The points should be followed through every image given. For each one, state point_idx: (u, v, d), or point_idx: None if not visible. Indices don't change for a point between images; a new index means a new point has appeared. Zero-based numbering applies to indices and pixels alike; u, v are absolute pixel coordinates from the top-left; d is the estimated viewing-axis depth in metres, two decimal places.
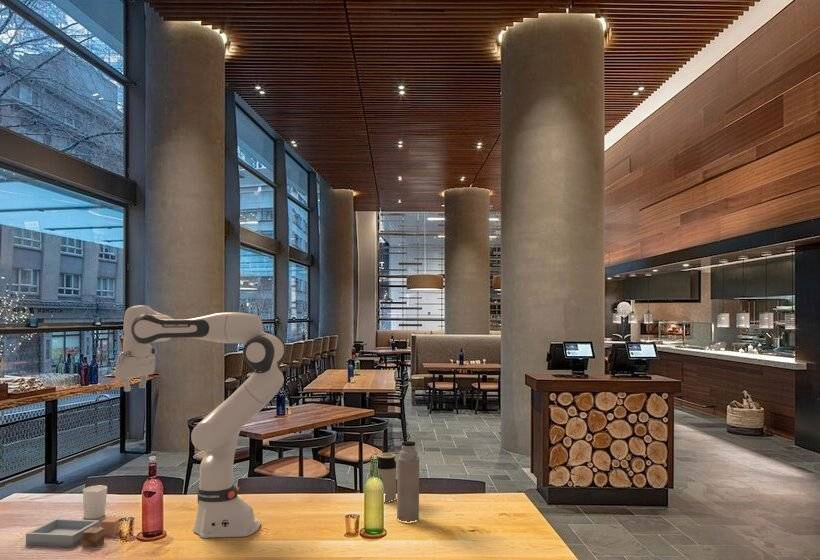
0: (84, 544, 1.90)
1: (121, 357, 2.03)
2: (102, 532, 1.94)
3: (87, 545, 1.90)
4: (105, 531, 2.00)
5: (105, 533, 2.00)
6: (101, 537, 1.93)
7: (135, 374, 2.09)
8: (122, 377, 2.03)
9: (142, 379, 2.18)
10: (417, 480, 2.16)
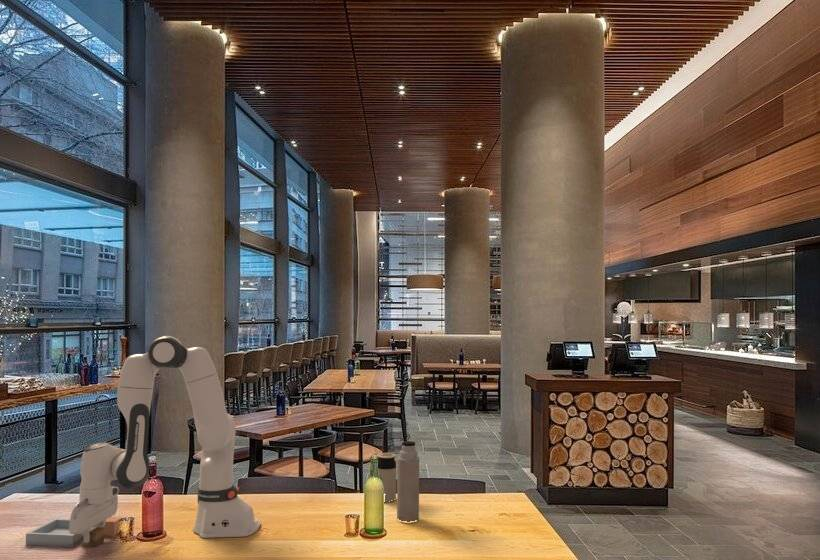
0: (84, 544, 1.90)
1: (76, 510, 1.83)
2: (102, 532, 1.94)
3: (87, 545, 1.90)
4: (105, 531, 2.00)
5: (105, 533, 2.00)
6: (101, 537, 1.93)
7: (93, 524, 1.90)
8: (77, 532, 1.83)
9: (99, 524, 1.96)
10: (417, 480, 2.16)
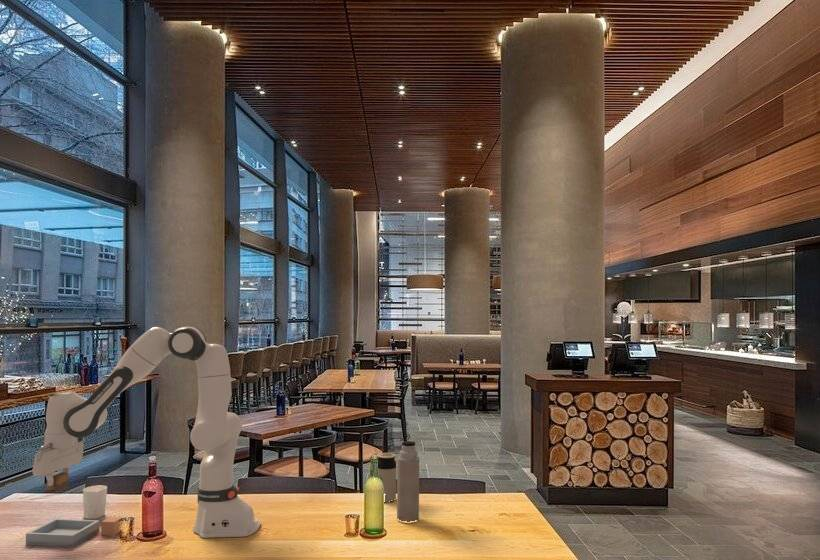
0: (48, 487, 1.96)
1: (40, 452, 1.89)
2: (66, 476, 1.99)
3: (51, 488, 1.96)
4: (105, 531, 2.00)
5: (105, 533, 2.00)
6: (65, 481, 1.99)
7: (57, 468, 1.95)
8: (40, 474, 1.89)
9: (64, 470, 2.02)
10: (417, 480, 2.16)
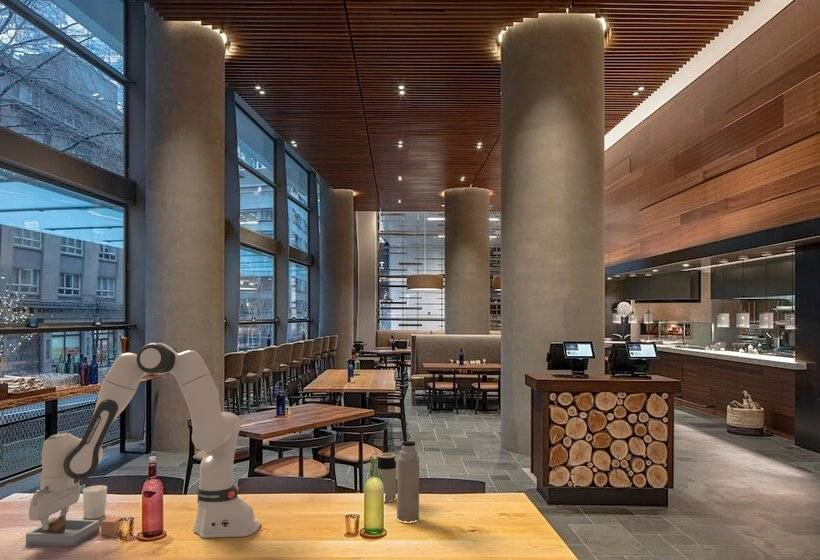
0: None
1: (36, 497, 1.89)
2: (63, 522, 1.99)
3: None
4: (105, 531, 2.00)
5: (105, 533, 2.00)
6: (62, 527, 1.99)
7: (53, 511, 1.95)
8: (36, 519, 1.88)
9: (62, 511, 2.03)
10: (417, 480, 2.16)
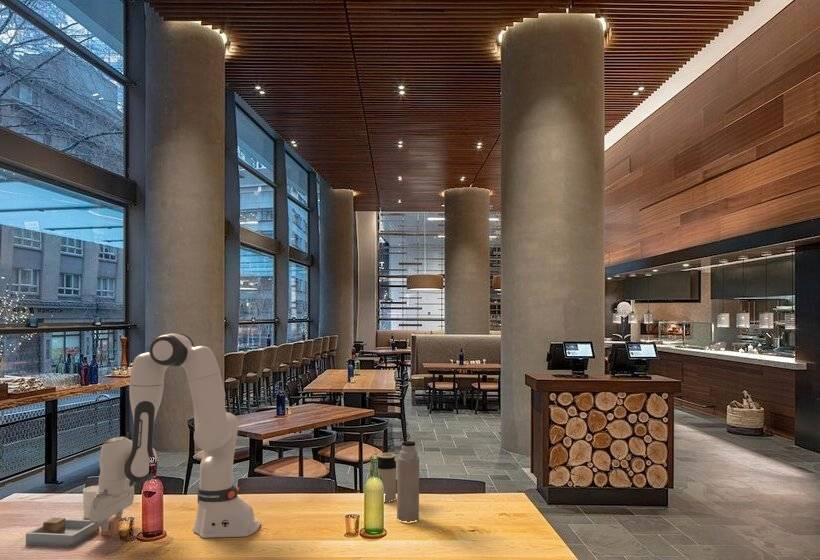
0: None
1: (96, 500, 1.93)
2: (63, 522, 1.99)
3: None
4: (105, 531, 2.00)
5: (105, 533, 2.00)
6: (62, 527, 1.99)
7: (111, 513, 1.99)
8: (97, 521, 1.93)
9: (117, 514, 2.06)
10: (417, 480, 2.16)
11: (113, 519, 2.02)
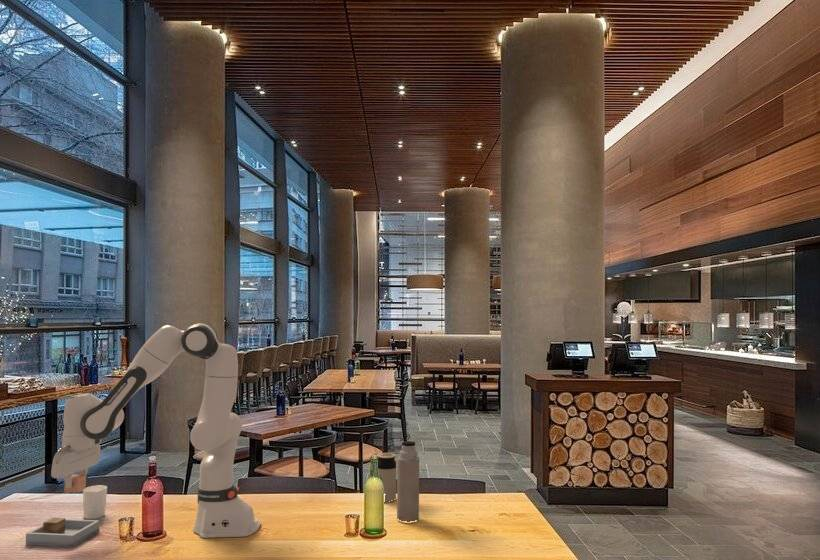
0: None
1: (58, 454, 1.89)
2: (63, 522, 1.99)
3: None
4: (68, 488, 1.96)
5: (68, 490, 1.96)
6: (62, 527, 1.99)
7: (75, 470, 1.95)
8: (59, 476, 1.89)
9: (81, 472, 2.02)
10: (417, 480, 2.16)
11: (77, 476, 1.98)
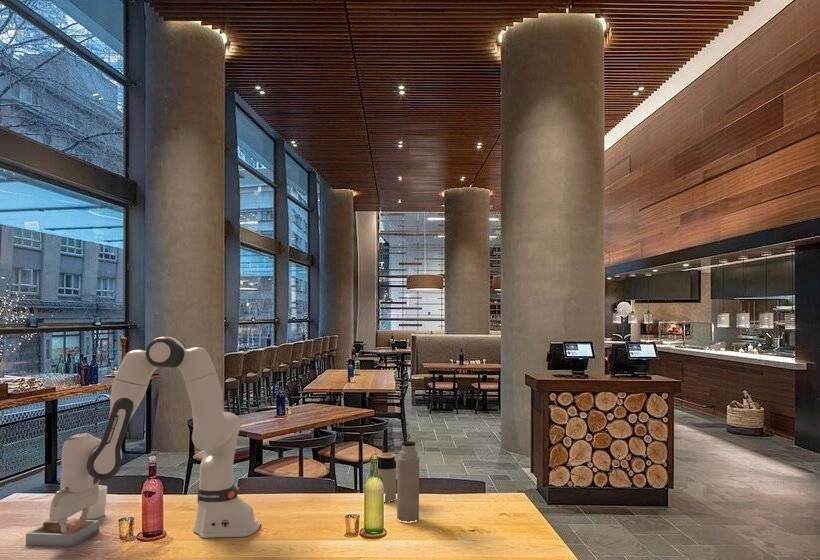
0: None
1: (56, 497, 1.88)
2: None
3: None
4: (67, 533, 1.95)
5: None
6: None
7: (73, 511, 1.94)
8: (57, 519, 1.88)
9: (83, 511, 2.03)
10: (417, 480, 2.16)
11: (75, 521, 1.97)
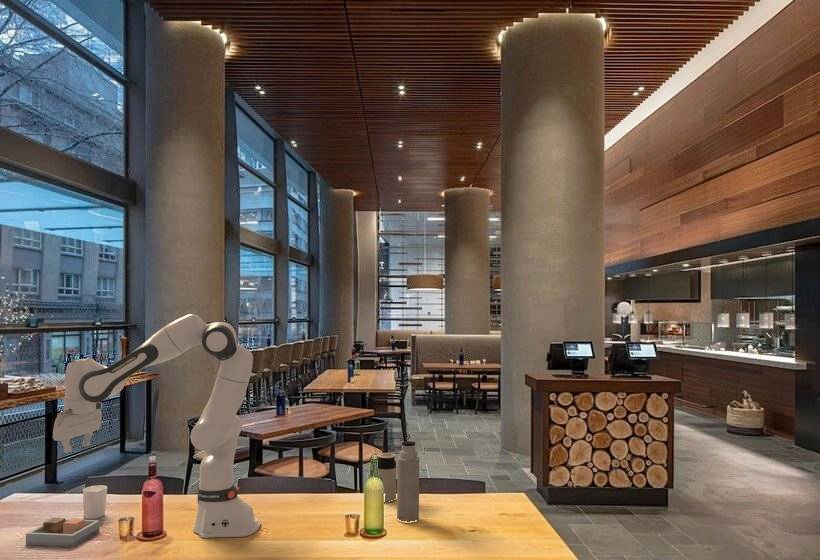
0: None
1: (59, 417, 1.90)
2: (63, 522, 1.99)
3: None
4: (67, 533, 1.95)
5: None
6: (62, 527, 1.99)
7: (76, 433, 1.96)
8: (60, 439, 1.89)
9: (86, 436, 2.04)
10: (417, 480, 2.16)
11: (75, 521, 1.97)
